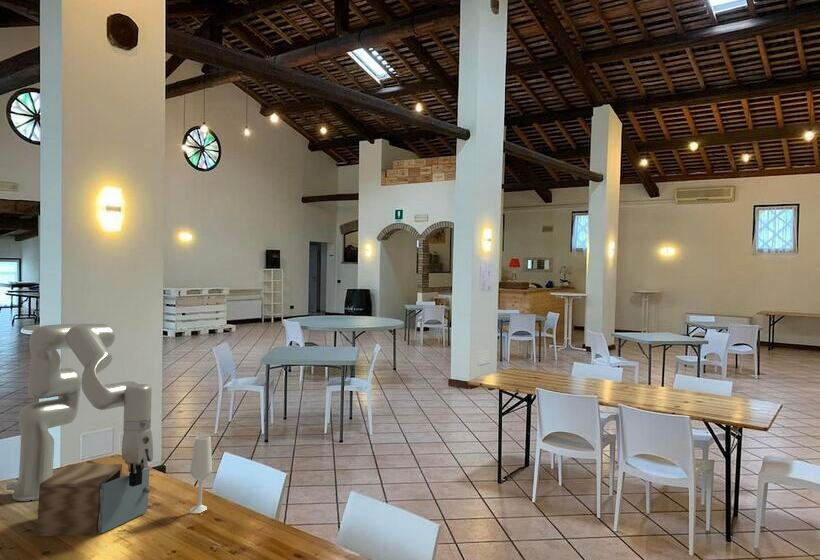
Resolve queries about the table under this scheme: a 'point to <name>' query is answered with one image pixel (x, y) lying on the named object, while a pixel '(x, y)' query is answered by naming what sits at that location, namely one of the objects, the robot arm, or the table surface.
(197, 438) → the champagne flute
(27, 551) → the table surface
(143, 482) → the cabinet door
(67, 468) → the walnut cabinet
